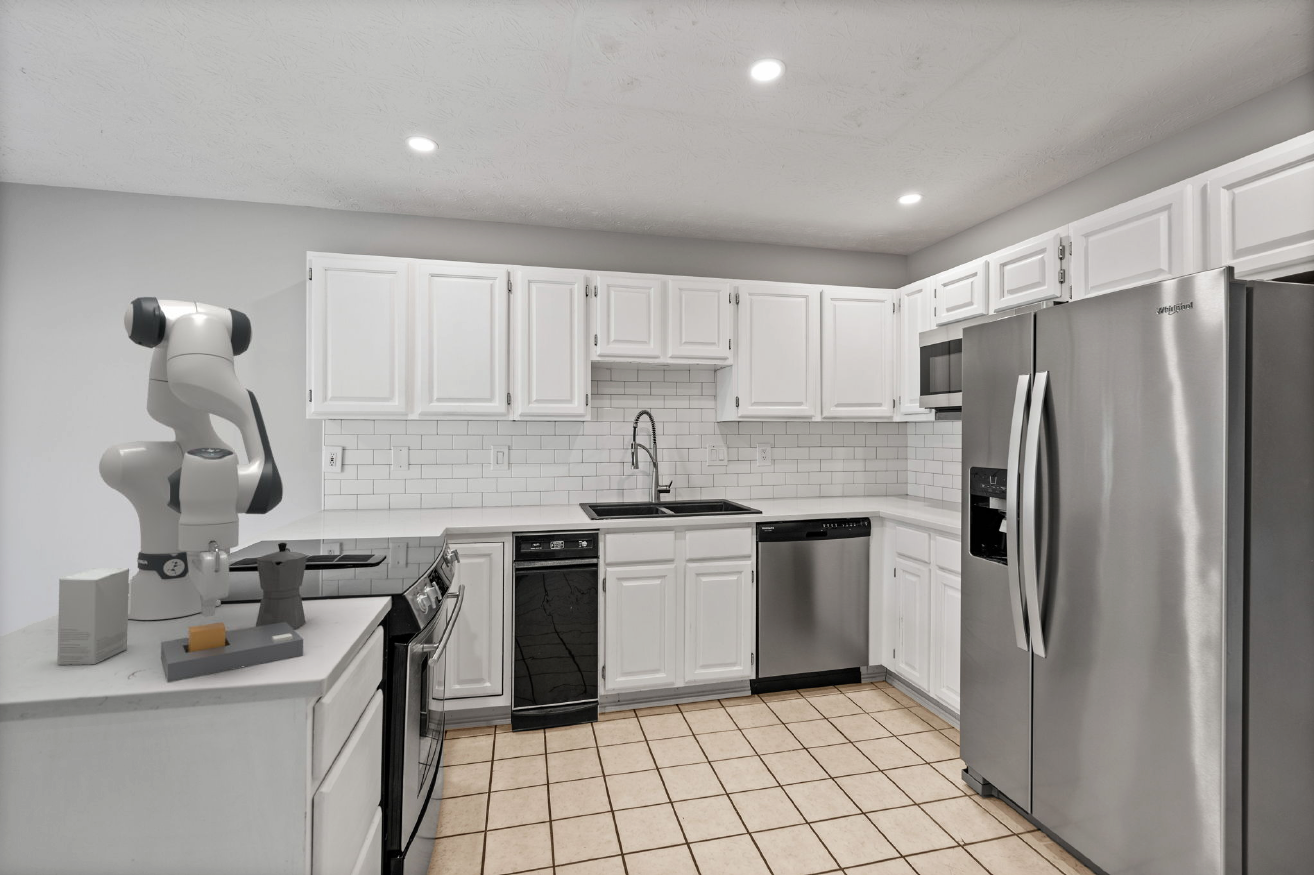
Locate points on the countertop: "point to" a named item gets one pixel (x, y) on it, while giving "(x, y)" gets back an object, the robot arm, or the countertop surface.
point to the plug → (206, 637)
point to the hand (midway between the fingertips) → (208, 614)
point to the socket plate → (231, 651)
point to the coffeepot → (281, 587)
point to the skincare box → (92, 615)
